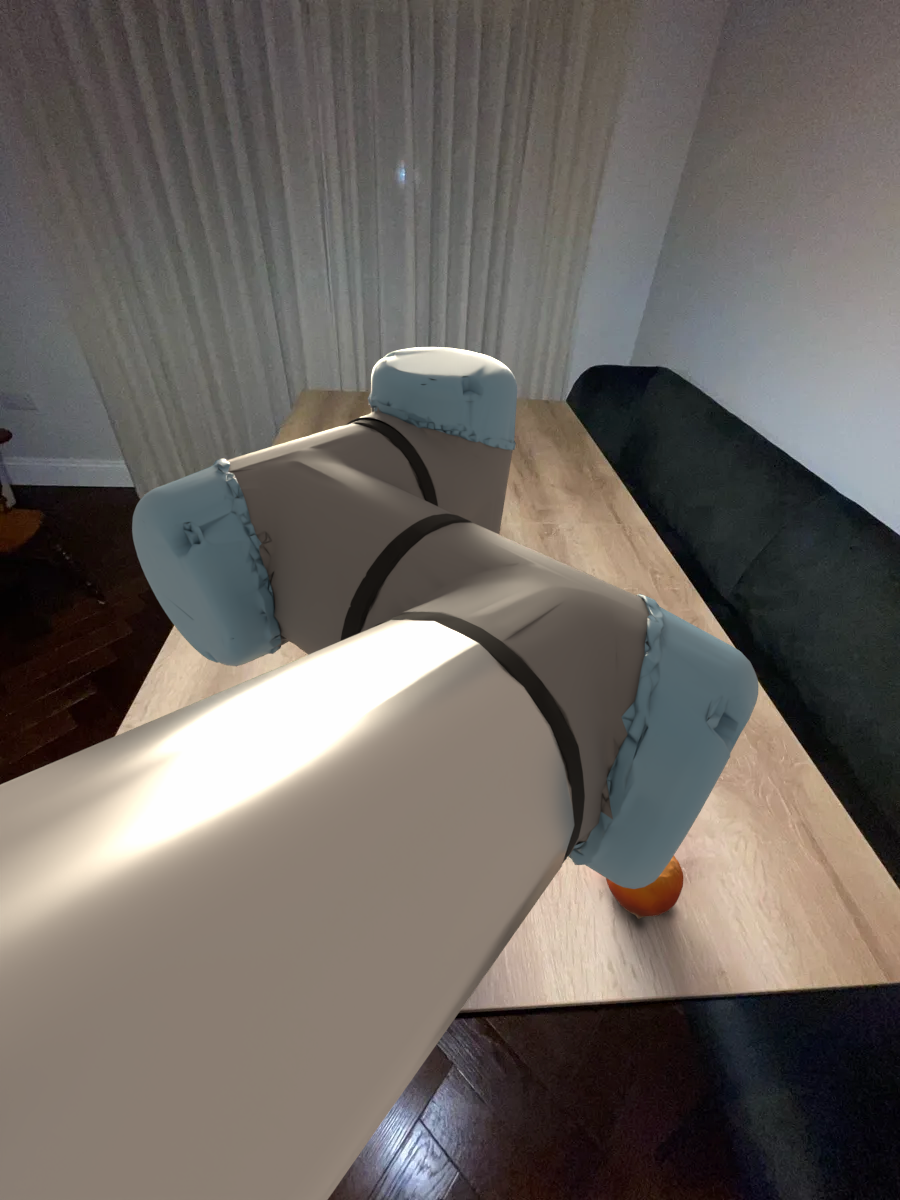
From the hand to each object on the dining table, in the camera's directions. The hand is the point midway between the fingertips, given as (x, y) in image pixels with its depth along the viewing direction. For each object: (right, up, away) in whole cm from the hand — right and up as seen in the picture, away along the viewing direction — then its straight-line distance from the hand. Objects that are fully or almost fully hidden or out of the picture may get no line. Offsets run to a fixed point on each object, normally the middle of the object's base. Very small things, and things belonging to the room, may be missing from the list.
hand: (426, 781), depth 49 cm
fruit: (+24, -17, +13) cm, 32 cm away
